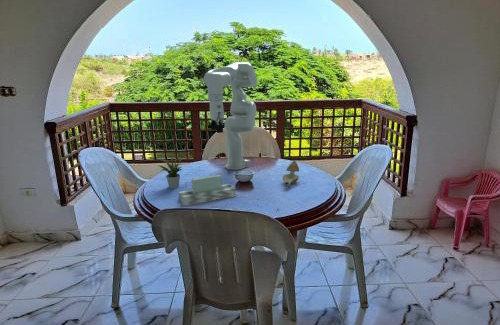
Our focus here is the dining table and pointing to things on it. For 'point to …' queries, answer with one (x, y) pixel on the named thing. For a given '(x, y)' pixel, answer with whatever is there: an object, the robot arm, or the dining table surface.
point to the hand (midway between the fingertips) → (217, 131)
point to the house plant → (172, 173)
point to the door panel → (207, 184)
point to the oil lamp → (291, 174)
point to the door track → (206, 195)
